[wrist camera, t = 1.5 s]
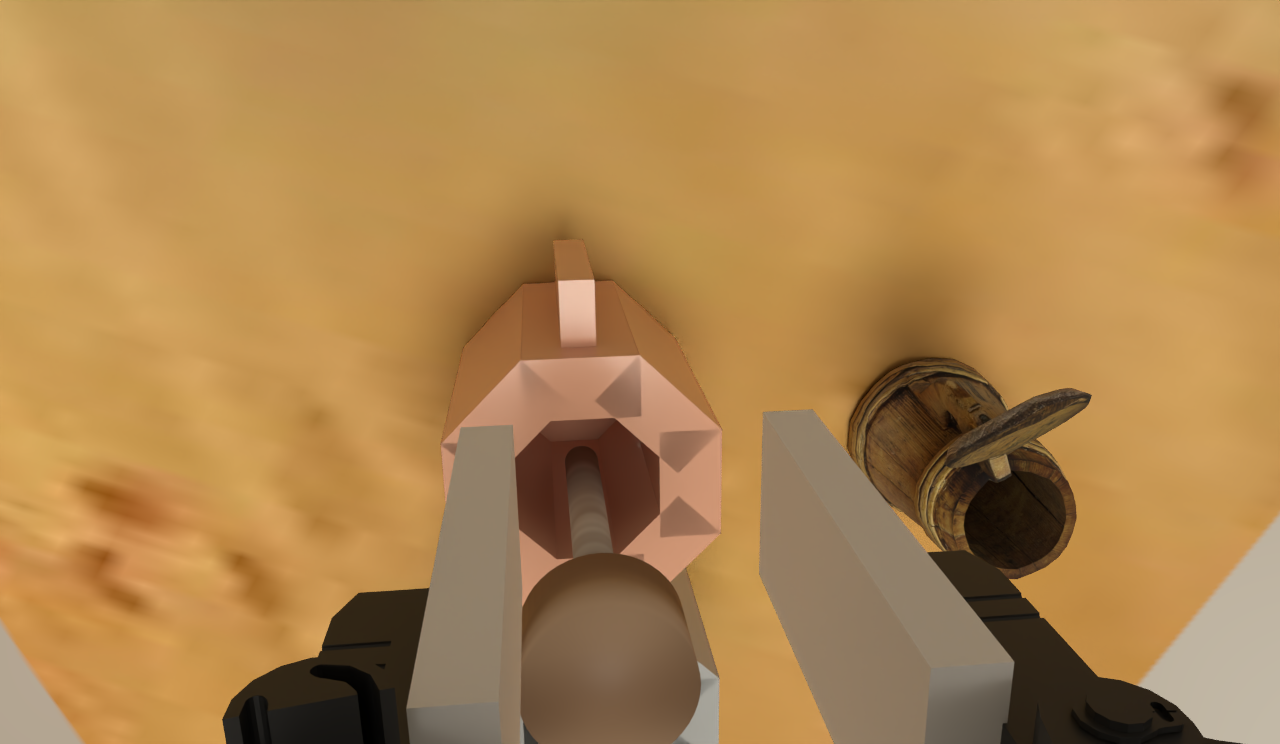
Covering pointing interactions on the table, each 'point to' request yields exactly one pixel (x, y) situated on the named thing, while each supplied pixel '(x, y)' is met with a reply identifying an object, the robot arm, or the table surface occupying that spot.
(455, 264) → the table surface
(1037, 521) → the wooden mug
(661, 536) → the pink octagonal mug
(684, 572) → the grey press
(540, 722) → the taupe plunger
